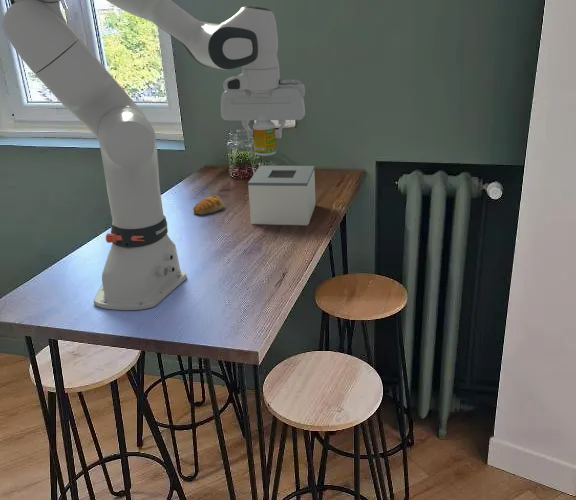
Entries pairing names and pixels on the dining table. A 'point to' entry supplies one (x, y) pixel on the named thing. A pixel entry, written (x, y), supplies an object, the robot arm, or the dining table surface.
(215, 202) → the pastry
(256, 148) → the supplement bottle
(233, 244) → the dining table surface
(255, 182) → the hole box
